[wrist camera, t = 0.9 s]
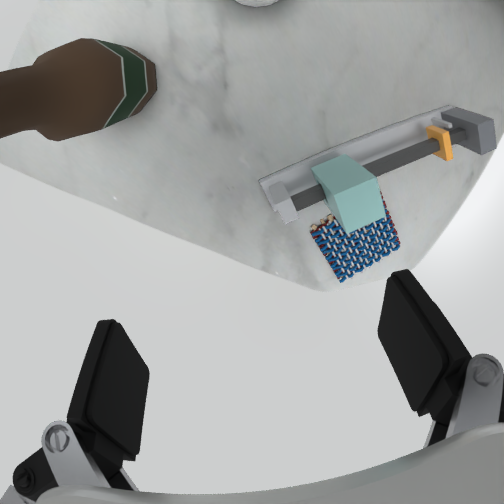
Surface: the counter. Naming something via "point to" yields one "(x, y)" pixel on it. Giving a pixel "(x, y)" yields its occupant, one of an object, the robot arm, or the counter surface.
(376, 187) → the teal sliding block
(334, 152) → the teal block rod stand
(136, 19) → the counter surface
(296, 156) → the counter surface
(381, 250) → the woven mat
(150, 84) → the beer bottle
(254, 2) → the white cup
